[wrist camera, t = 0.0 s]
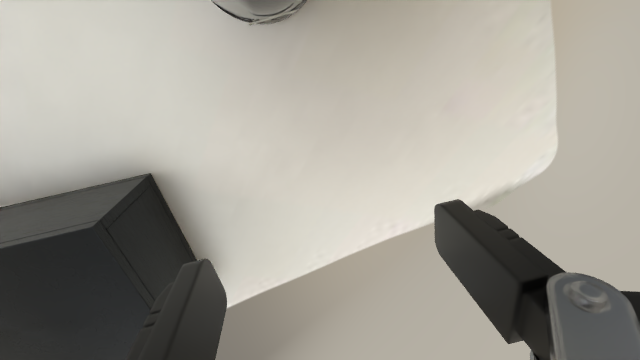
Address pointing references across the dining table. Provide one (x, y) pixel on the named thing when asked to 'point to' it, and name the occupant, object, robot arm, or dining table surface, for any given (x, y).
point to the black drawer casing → (85, 270)
